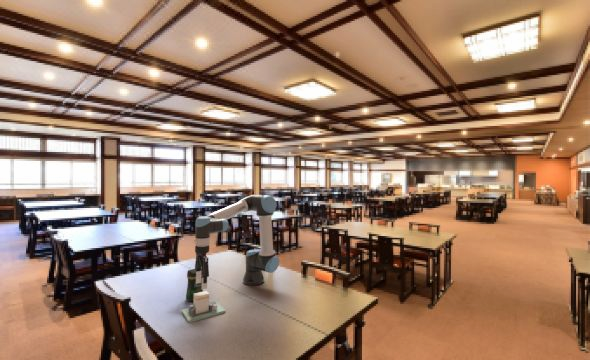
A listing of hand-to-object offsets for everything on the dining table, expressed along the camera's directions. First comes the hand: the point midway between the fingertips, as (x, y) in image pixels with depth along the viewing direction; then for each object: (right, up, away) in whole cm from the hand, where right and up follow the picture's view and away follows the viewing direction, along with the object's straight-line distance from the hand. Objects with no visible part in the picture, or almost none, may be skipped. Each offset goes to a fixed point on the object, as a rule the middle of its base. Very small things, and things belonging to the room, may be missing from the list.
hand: (201, 285), depth 150 cm
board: (+1, -16, +2) cm, 16 cm away
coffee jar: (-10, -16, +19) cm, 26 cm away
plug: (0, -14, 0) cm, 14 cm away
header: (0, -14, 0) cm, 14 cm away
